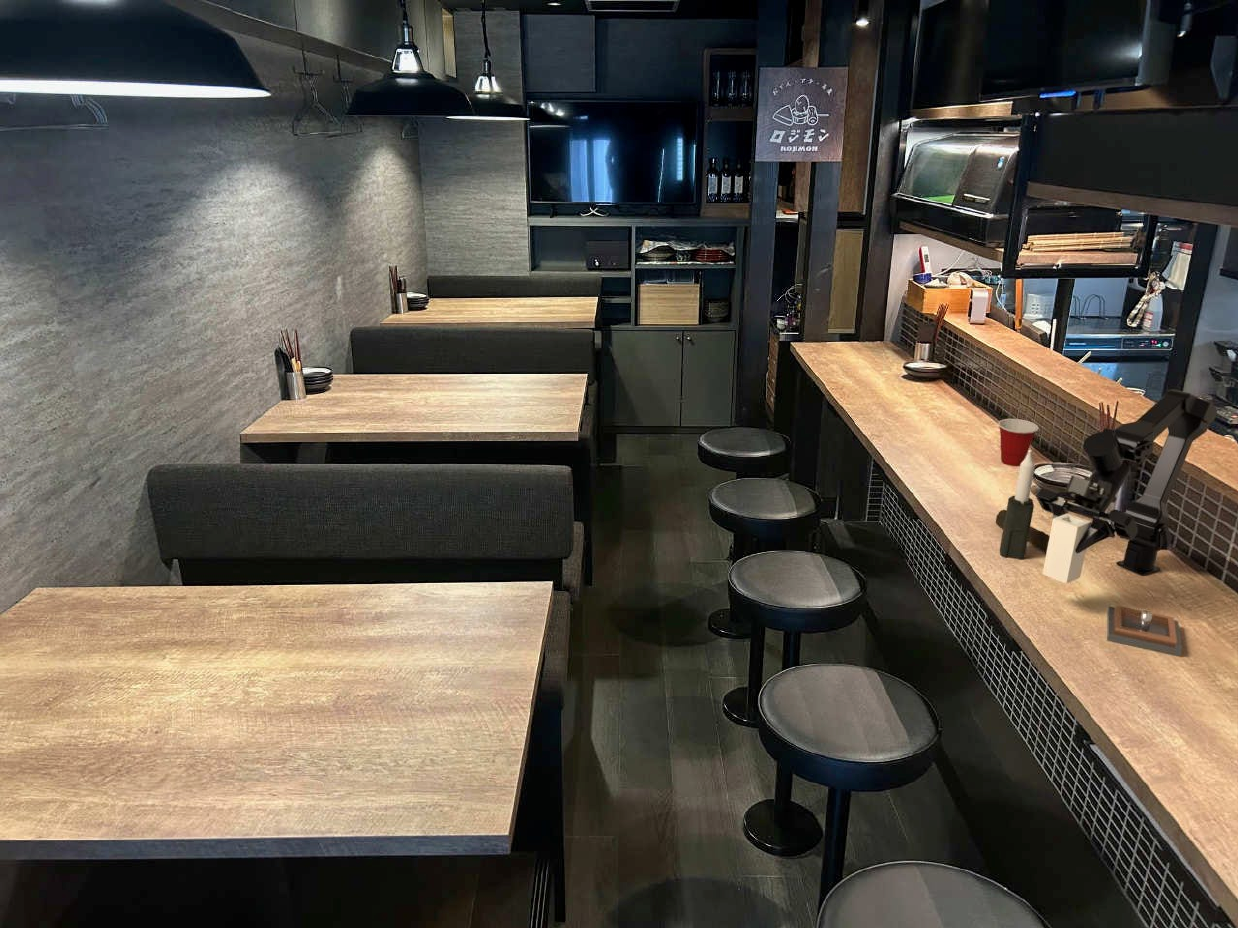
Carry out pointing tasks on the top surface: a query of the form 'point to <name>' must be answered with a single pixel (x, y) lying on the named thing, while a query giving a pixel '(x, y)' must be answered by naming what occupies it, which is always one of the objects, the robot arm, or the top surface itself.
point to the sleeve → (1065, 548)
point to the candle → (1019, 513)
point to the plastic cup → (1015, 440)
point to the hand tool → (1034, 535)
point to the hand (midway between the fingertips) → (1063, 547)
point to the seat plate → (1144, 630)
